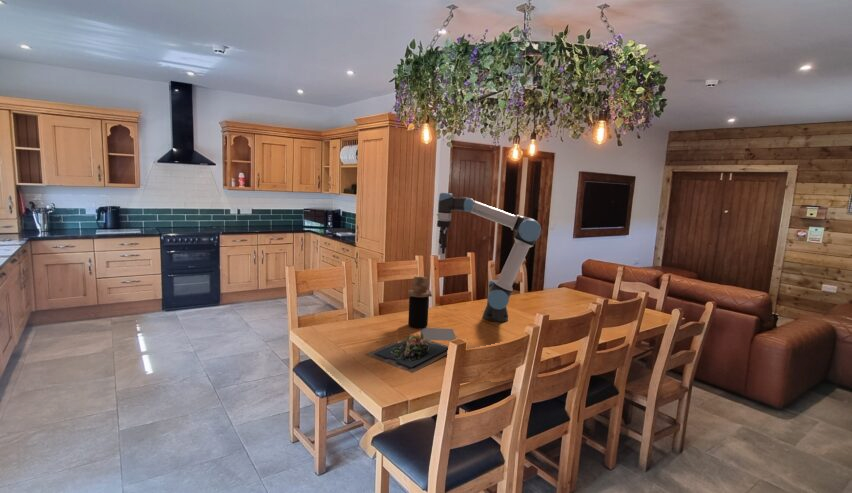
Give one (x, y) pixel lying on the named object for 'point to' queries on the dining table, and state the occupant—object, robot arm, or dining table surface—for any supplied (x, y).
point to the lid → (420, 287)
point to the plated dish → (410, 353)
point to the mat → (438, 334)
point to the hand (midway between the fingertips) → (441, 257)
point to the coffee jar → (418, 311)
